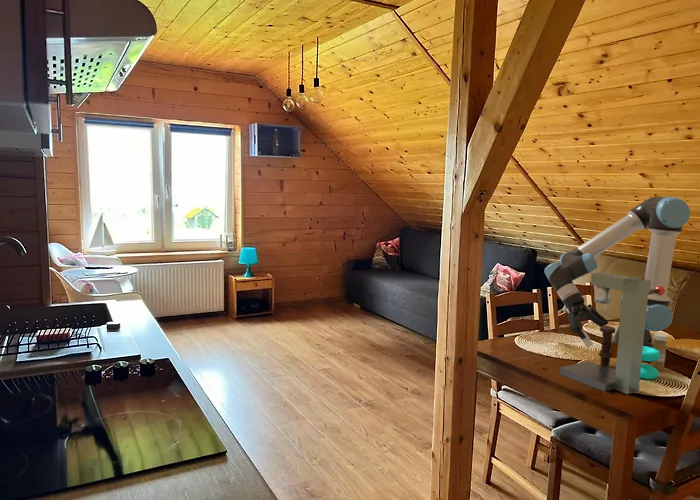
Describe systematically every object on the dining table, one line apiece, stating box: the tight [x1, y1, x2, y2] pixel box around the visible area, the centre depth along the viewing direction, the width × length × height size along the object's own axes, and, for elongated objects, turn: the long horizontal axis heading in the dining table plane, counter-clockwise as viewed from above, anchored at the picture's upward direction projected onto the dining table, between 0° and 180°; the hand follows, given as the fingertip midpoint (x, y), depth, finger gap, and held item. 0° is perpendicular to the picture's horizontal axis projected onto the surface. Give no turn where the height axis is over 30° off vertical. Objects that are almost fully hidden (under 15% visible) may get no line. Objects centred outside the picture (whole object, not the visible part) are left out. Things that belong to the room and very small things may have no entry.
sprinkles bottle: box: [650, 332, 669, 371], centre depth 199 cm, size 5×5×13 cm
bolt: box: [598, 325, 617, 367], centre depth 201 cm, size 6×5×15 cm
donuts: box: [640, 346, 661, 380], centre depth 192 cm, size 10×10×10 cm
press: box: [559, 271, 665, 395], centre depth 186 cm, size 24×24×38 cm
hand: (601, 343), depth 202 cm, fingers open, 13 cm apart
